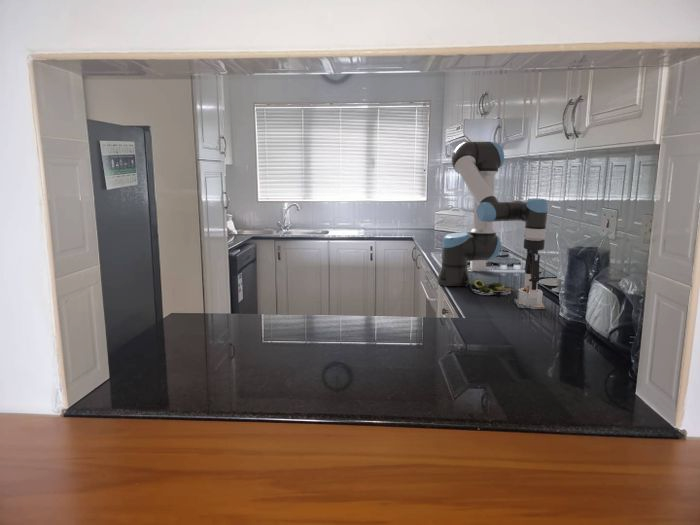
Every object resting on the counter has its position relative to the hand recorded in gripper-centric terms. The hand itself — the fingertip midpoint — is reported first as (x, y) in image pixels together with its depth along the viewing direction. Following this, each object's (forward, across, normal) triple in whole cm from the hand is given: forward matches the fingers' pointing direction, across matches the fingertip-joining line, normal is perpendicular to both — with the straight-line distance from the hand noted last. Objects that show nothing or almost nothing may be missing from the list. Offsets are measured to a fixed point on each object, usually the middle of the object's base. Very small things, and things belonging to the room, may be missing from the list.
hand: (530, 293), depth 200 cm
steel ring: (+4, 0, 0) cm, 4 cm away
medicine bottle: (+5, +64, +16) cm, 66 cm away
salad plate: (+6, +20, +14) cm, 25 cm away
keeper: (+5, 0, 0) cm, 5 cm away
